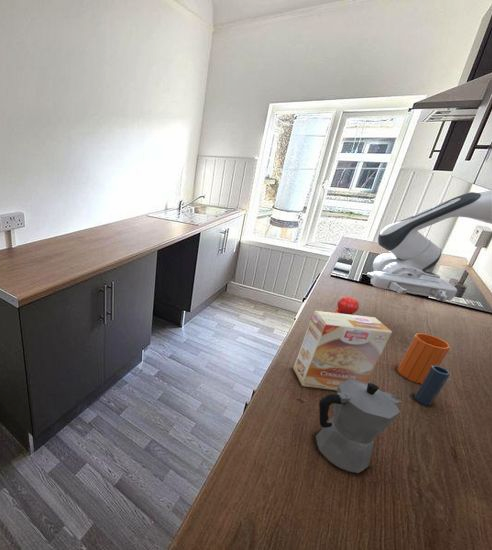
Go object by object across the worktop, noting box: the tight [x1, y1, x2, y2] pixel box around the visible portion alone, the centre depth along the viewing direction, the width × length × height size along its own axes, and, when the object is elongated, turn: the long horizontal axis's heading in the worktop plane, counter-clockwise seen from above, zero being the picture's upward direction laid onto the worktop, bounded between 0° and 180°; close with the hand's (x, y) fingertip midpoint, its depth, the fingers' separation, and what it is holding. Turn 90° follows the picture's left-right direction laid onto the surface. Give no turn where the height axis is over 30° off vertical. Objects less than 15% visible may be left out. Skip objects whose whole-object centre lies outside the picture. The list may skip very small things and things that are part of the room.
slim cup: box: [413, 365, 451, 406], centre depth 74 cm, size 3×3×10 cm
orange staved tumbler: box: [397, 332, 451, 385], centre depth 82 cm, size 7×7×12 cm
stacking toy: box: [333, 296, 360, 315], centre depth 90 cm, size 8×8×19 cm
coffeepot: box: [315, 379, 402, 474], centre depth 58 cm, size 15×9×18 cm, turn 93°
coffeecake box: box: [292, 310, 393, 391], centre depth 76 cm, size 15×7×20 cm, turn 82°
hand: (422, 295), depth 87 cm, fingers open, 8 cm apart
